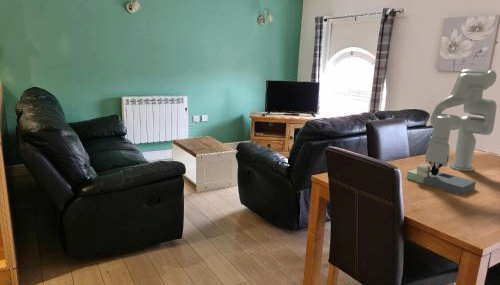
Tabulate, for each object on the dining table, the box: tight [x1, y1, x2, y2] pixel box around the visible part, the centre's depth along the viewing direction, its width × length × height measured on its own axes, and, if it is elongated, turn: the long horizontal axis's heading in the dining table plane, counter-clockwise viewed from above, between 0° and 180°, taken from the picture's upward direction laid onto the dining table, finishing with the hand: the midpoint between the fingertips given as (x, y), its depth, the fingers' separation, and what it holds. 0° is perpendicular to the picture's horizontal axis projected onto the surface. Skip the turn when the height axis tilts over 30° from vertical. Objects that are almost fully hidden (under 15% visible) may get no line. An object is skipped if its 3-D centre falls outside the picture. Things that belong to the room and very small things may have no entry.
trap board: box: [406, 168, 477, 196], centre depth 189 cm, size 15×28×4 cm, turn 37°
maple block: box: [416, 163, 432, 177], centre depth 189 cm, size 5×5×5 cm
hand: (434, 174), depth 187 cm, fingers closed
